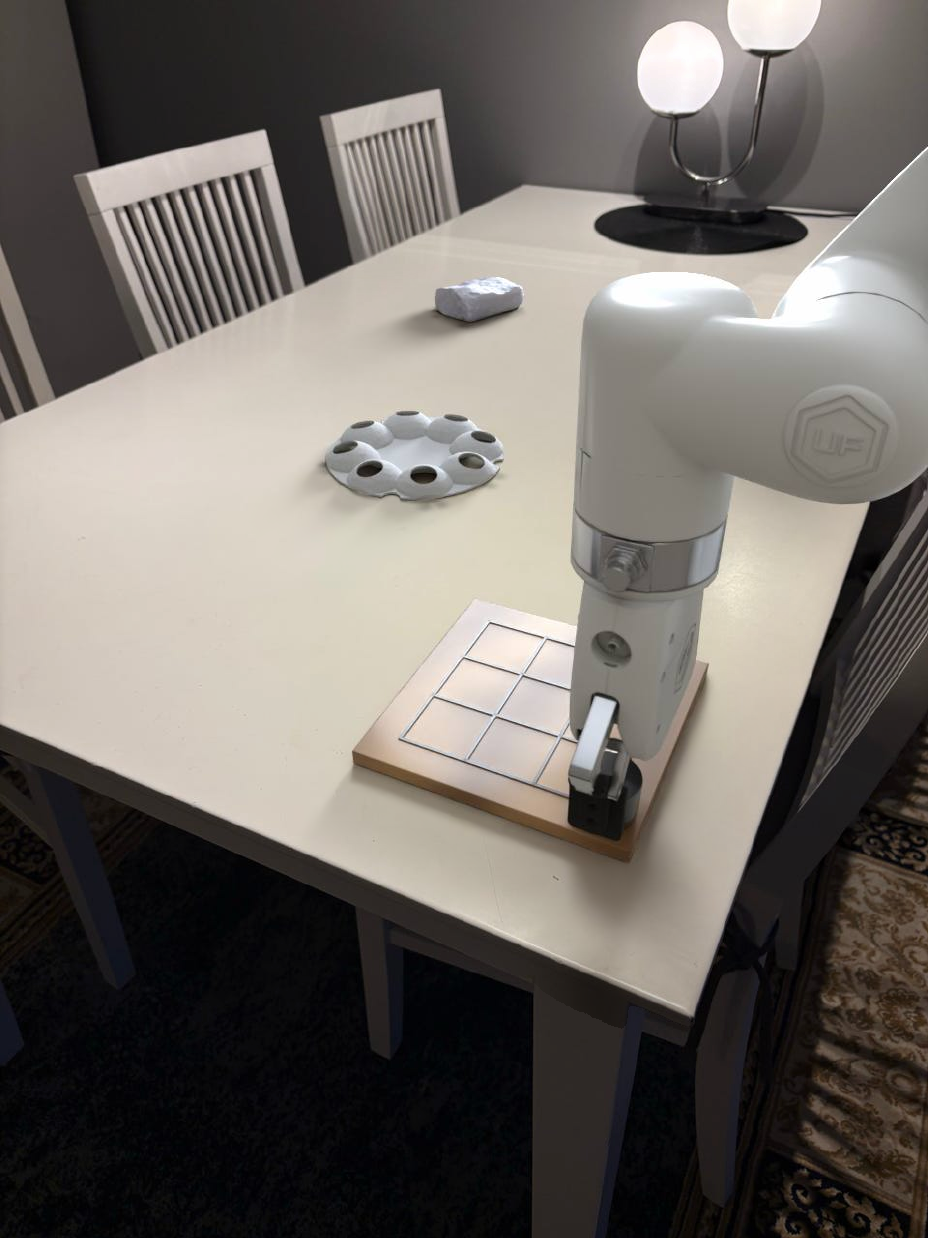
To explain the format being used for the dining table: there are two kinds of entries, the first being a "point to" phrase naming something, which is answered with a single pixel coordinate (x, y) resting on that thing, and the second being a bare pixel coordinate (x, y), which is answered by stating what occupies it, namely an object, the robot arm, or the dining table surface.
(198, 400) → the dining table surface
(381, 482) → the round palette
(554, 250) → the dining table surface
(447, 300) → the block
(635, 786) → the grey metallic short cylinder
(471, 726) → the game board
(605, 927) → the dining table surface
